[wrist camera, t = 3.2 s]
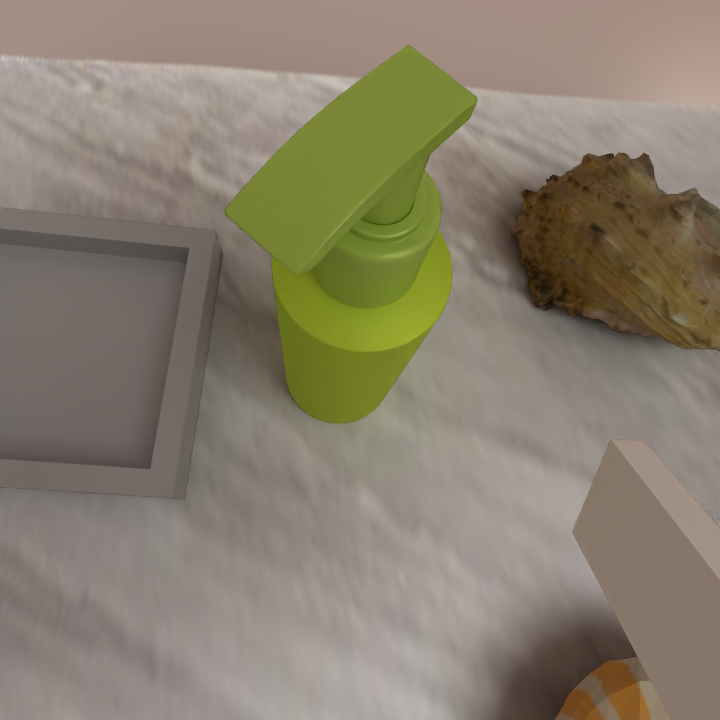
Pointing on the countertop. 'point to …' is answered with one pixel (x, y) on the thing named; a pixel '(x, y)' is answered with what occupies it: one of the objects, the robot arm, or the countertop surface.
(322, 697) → the countertop surface
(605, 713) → the nautilus
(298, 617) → the countertop surface
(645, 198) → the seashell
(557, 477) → the countertop surface
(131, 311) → the holder tray
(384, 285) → the soap dispenser
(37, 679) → the countertop surface
